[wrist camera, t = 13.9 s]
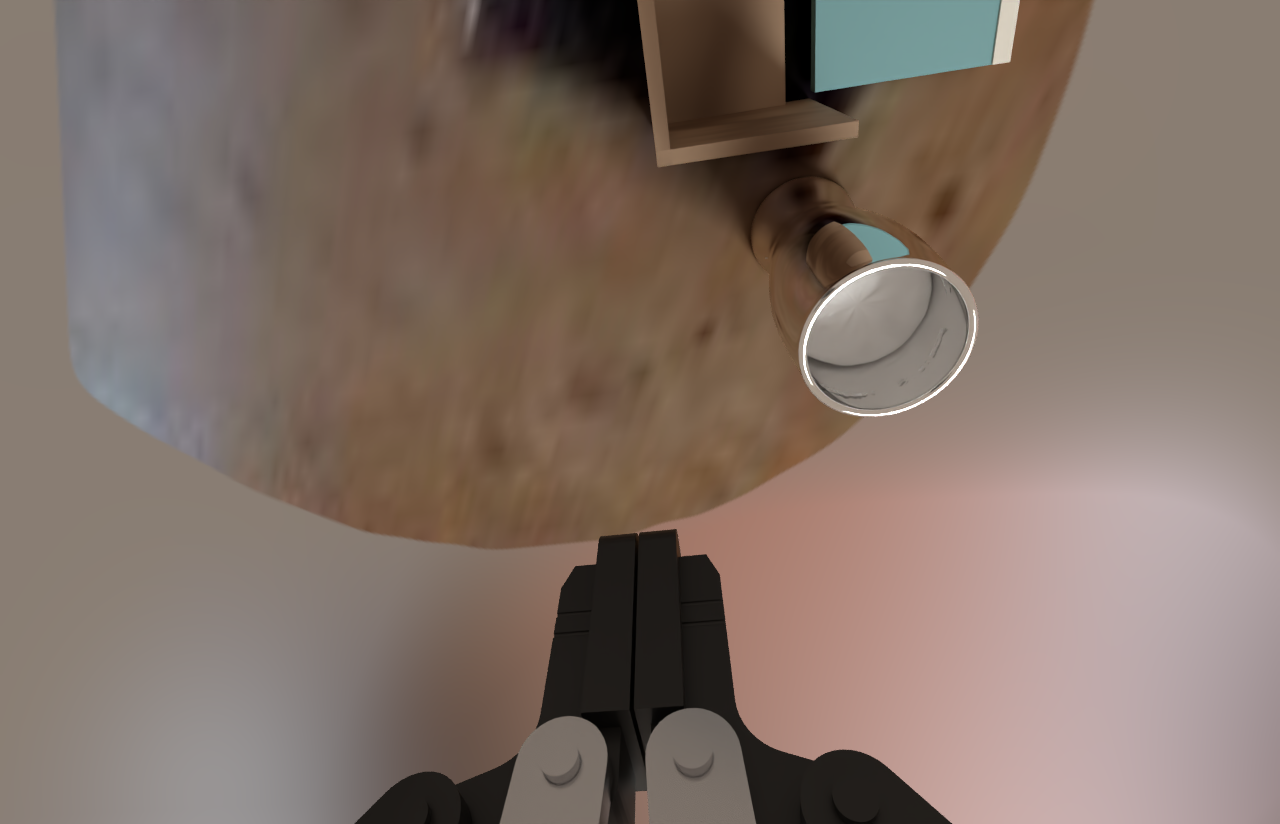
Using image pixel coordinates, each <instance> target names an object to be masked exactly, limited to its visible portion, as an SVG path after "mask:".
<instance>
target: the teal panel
mask: <svg viewBox="0 0 1280 824" xmlns="http://www.w3.org/2000/svg"><path fill="white" fill-rule="evenodd" d="M1019 2H1020V0H811V91H813V92H820V91H827V90H833V89H839V88H846V87H852V86H858V85H865V84H871V83H878V82H884V81H890V80H897V79H903V78H909V77H916V76H922V75H928V74H935V73H941V72H947V71H954V70H960V69H966V68H973V67H979V66H985V65H993V64H1000V63H1006V62H1010V59H1011V52H1012V46H1013V40H1014V33H1015V27H1016V21H1017V15H1018V8H1019Z"/></svg>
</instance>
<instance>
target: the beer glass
mask: <svg viewBox="0 0 1280 824" xmlns="http://www.w3.org/2000/svg"><path fill="white" fill-rule="evenodd" d="M751 244H752V249H753V252H754V255H755V257H756V259H757V261H758V262H759V264H760V265H761V266H762V268H763V269H764V270H765V271H766V272H767V273H768V274H769V297H770V305H771V312H772V316H773V319H774V322H775V325H776V328H777V331H778V334H779V336H780V338H781V340H782V342H783V344H784V346H785V348H786V350H787V352H788V354H789V356H790V357H791V359H792V361H793V362H794V364H795V366H796V367H797V369H798V370H799V372H800V373H801V375H802V377H803V379H804V382H805V383H806V385H807V387H808V388H809V390H810V391H811V392H812V393H813V394H814V396H815V397H816V398H818V399H819V400H820V401H821V402H822V403H824V404H825V405H827V406H828V407H830V408H832V409H834V410H836V411H839V412H842V413H845V414H848V415H853V416H859V417H881V416H887V415H893V414H897V413H901V412H904V411H906V410H909V409H912V408H914V407H916V406H919V405H921V404H922V403H924V402H926V401H928V400H929V399H931V398H932V397H934V396H935V395H937V394H938V393H939V392H941V391H942V390H943V389H944V388H946V387H947V386H948V384H950V383H951V382H952V381H953V380H954V379H955V377H956V376H957V375H958V374H959V372H960V371H961V370H962V368H963V367H964V365H965V364H966V362H967V361H968V359H969V357H970V355H971V353H972V350H973V348H974V345H975V342H976V338H977V333H978V310H977V306H976V302H975V299H974V297H973V295H972V293H971V291H970V289H969V288H968V286H967V285H966V283H965V282H964V281H963V280H962V279H961V278H960V277H959V276H958V275H957V274H955V273H954V272H953V271H952V270H951V269H950V267H949V266H948V265H947V264H946V263H945V261H944V260H943V259H942V258H941V257H940V256H939V255H938V254H937V253H936V252H935V251H934V250H933V249H932V248H931V247H930V246H929V245H928V244H927V243H926V242H925V241H924V240H922V239H921V238H920V237H919V236H918V235H917V234H915V233H914V232H912V231H911V230H909V229H908V228H906V227H905V226H903V225H902V224H900V223H899V222H897V221H895V220H893V219H891V218H888V217H886V216H883V215H881V214H878V213H876V212H873V211H869V210H865V209H861V208H857V207H855V206H854V203H853V201H852V200H851V198H850V196H849V195H848V194H847V192H846V191H845V190H844V189H843V188H842V187H841V186H839V185H838V184H836V183H835V182H833V181H831V180H828V179H825V178H821V177H802V178H797V179H794V180H791V181H788V182H786V183H784V184H782V185H781V186H779V187H778V188H776V189H775V190H774V191H773V192H771V193H770V194H769V195H768V196H767V197H766V198H765V200H764V201H763V202H762V204H761V205H760V207H759V209H758V210H757V212H756V215H755V217H754V220H753V224H752V229H751Z"/></svg>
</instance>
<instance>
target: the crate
mask: <svg viewBox="0 0 1280 824" xmlns="http://www.w3.org/2000/svg"><path fill="white" fill-rule="evenodd" d="M637 2H638V10H639V19H640V27H641V35H642V43H643V51H644V59H645V68H646V76H647V84H648V92H649V100H650V108H651V117H652V125H653V133H654V141H655V149H656V157H657V166H658V167H663V166H670V165H676V164H683V163H689V162H696V161H703V160H709V159H716V158H723V157H729V156H736V155H742V154H749V153H756V152H762V151H769V150H776V149H782V148H789V147H795V146H802V145H809V144H815V143H822V142H829V141H835V140H842V139H848V138H855V137H858V127H859V121H858V120H856V119H854V118H852V117H849V116H847V115H845V114H843V113H840V112H838V111H836V110H834V109H831V108H829V107H827V106H825V105H823V104H820V103H818V102H816V101H814V100H811V99H803V100H796V101H790V102H785V36H784V0H637Z"/></svg>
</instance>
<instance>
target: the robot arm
mask: <svg viewBox="0 0 1280 824" xmlns="http://www.w3.org/2000/svg"><path fill="white" fill-rule="evenodd" d="M557 614H558V617H557V618H556V624H555V630H554V638H553V642H552V648H551V654H550V660H549V666H548V672H547V679H546V684H545V690H544V697H543V703H542V709H541V715H540V719H539V722H538V725H537V727H536V730H535V731H534V732H532V734H531V735H530V736H529V737H528V738H527V739H526V741H525V742H524V744H523V745H522V747H521V749H520V751H519V753H518V754H517V755H515V756H514V757H513V758H512V759H511V760H509V761H508V762H506V763H504V764H503V765H501V766H499V767H497V768H495V769H492V770H490V771H488V772H485V773H483V774H480V775H478V776H476V777H473V778H471V779H468V780H466V781H464V782H462V783H459V784H456V785H455V784H454V783H453V782H452V780H451V779H449V778H448V777H447V776H445V775H443V774H441V773H437V772H422V773H417V774H414V775H411V776H409V777H407V778H405V779H403V780H401V781H400V782H398V783H397V784H395V785H394V786H393V787H391V788H390V789H389V790H388V791H387V792H386V793H385V794H384V795H383V796H382V797H381V798H380V799H379V800H378V801H377V802H376V803H375V804H374V805H373V806H372V807H371V808H370V809H369V810H368V811H367V812H366V813H365V814H364V815H363V816H362V817H361V818H360V819H359V820H358V821H357V822H356V823H355V824H635V791H647V793H648V810H649V824H952V823H950V822H949V821H948V820H947V819H946V818H945V817H944V816H943V815H941V814H940V813H939V812H938V811H937V810H936V809H935V808H934V807H932V806H931V805H930V804H929V803H928V802H927V801H925V800H924V799H923V798H922V797H921V796H920V795H919V794H918V793H916V792H915V791H914V790H913V789H912V788H911V787H910V786H908V785H907V784H906V783H905V782H904V781H903V780H902V779H900V778H899V777H898V776H897V775H896V774H895V773H894V772H892V771H891V770H890V769H889V768H888V767H886V766H885V765H884V764H883V763H881V762H880V761H878V760H877V759H875V758H873V757H871V756H869V755H867V754H864V753H862V752H858V751H853V750H836V751H831V752H828V753H825V754H823V755H821V756H820V757H818V758H817V759H816V760H814V761H813V760H810V759H806V758H803V757H799V756H796V755H792V754H788V753H785V752H782V751H779V750H776V749H774V748H772V747H769V746H768V745H766V744H764V743H763V742H761V741H760V740H759V739H757V738H756V737H755V736H754V735H753V734H752V733H751V732H750V731H749V730H748V729H747V727H746V726H745V725H744V723H743V721H742V720H741V718H740V716H739V713H738V710H737V708H736V703H735V696H734V688H733V680H732V672H731V664H730V655H729V648H728V639H727V631H726V623H725V615H724V606H723V598H722V590H721V582H720V574H719V573H718V571H717V570H716V568H715V567H714V565H713V564H712V562H711V561H710V560H709V558H708V557H707V555H706V554H705V555H694V556H683V557H681V553H680V546H679V540H678V534H677V530H676V529H673V530H662V531H652V532H641V533H639V536H638V534H637V533H632V534H622V535H611V536H601V537H600V539H599V543H598V553H597V562H596V564H595V565H584V566H575V568H574V569H573V571H572V572H571V574H570V575H569V577H568V579H567V580H566V582H565V583H564V585H563V586H562V588H561V593H560V599H559V605H558V612H557Z"/></svg>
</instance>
